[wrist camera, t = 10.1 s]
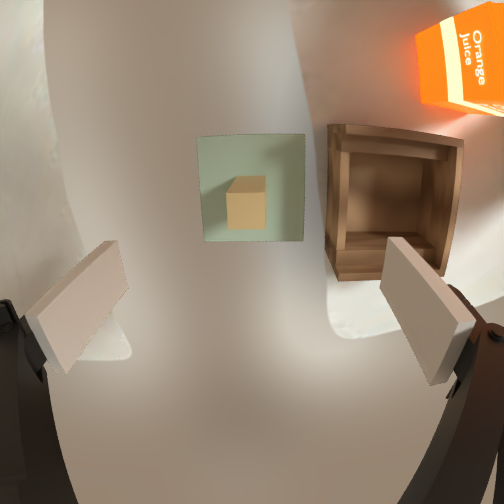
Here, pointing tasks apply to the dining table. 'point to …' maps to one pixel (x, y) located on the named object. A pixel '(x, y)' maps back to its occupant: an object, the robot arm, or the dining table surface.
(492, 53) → the orange juice
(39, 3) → the dining table surface
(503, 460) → the robot arm
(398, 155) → the box
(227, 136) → the cover plate
